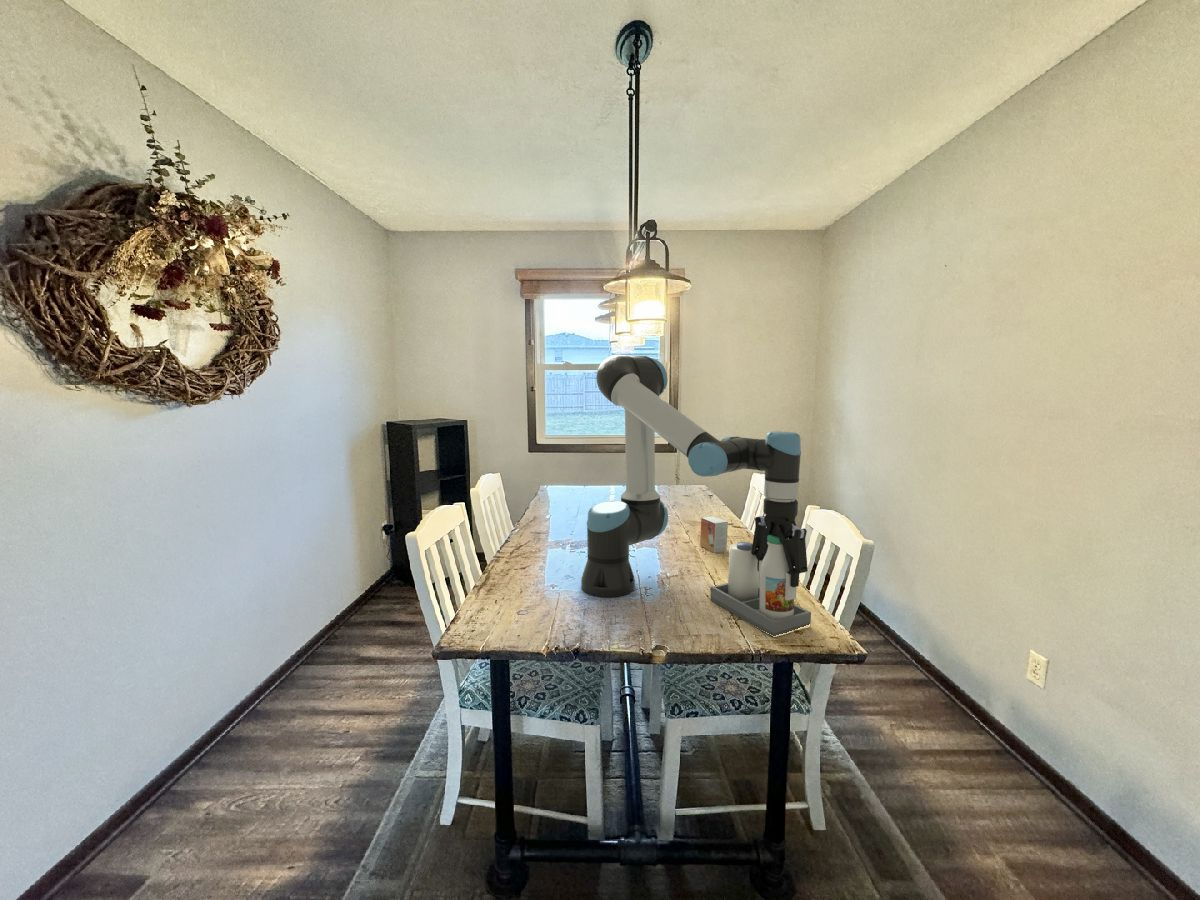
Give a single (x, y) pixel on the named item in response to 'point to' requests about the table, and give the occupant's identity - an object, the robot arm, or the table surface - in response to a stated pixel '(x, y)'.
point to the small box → (713, 534)
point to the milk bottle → (774, 582)
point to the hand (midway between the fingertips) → (776, 592)
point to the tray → (753, 616)
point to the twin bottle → (742, 572)
